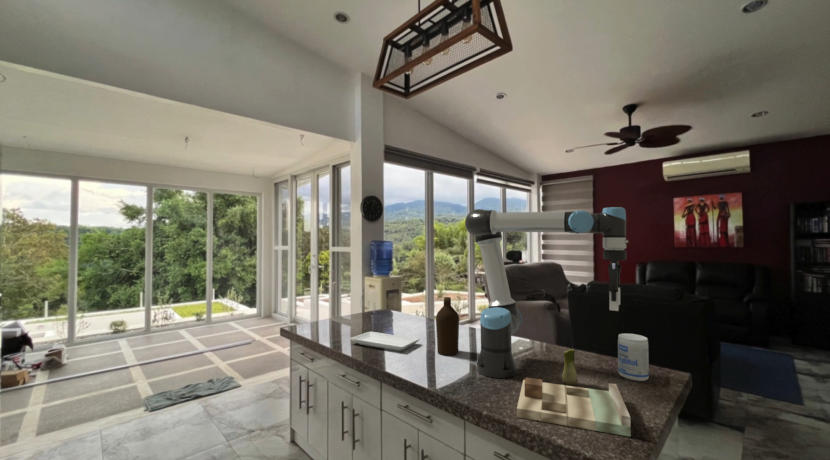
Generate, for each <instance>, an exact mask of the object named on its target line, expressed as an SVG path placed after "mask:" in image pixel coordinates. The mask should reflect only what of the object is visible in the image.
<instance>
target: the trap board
mask: <svg viewBox="0 0 830 460" xmlns="http://www.w3.org/2000/svg"><path fill="white" fill-rule="evenodd" d="M524 383H525V379H523V380H522V385H521V388H520V393H519V398H518V401H517V406H516V417H517V418H521V419H526V420H531V421H537V420H538V421H539V422H543V423H549V424H554V425H555V424H556V425H561V426H566V427H572V428H579V429H584V430H589V431H596V432H600V433H607V434H613V435H619V436H624V437H631V436H632V432H631V427H632V426H631V415H630V413H629V411H628V408H627V406H626V403H625V401H624V400H623V397H622V394H621V392H620V390H619V388H618V385H617V383H609V382H608V390H602V389H595V388H588V387H587V388H586V387H581V386H575V385H573V386H568V385H566V384H557V383H551V382H543V381H542V387H543V394H542V399H537V398H530V397H525V385H524Z"/></svg>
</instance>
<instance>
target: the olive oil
mask: <svg viewBox="0 0 830 460" xmlns="http://www.w3.org/2000/svg"><path fill="white" fill-rule="evenodd" d="M451 299H452V298H451V296H444V297H443V306H442V307H441V308H440V309H439V310H438V312H436V316H435V326H436V343H437V344H436V345H437V354H438V355H441V356H446V357H450V356H452V357H453V356H456V355H458V354H459V340H460V339H459V334H460V316H459V314H458V311H456V310H455V308H454V307H453V306H452V300H451Z"/></svg>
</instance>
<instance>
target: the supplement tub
mask: <svg viewBox="0 0 830 460" xmlns="http://www.w3.org/2000/svg"><path fill="white" fill-rule="evenodd" d="M617 338H618V339H617V363H618V364H617V369H618V374H619V375H620V376H621V377H622V378H624V379H627V380H631V381H638V382H645V381H647V380H648V379H649V377H650V368H649V366H650V365H649V364H650V363H649V362H650V361H649V339H648V337H646V336H644V335H641V334H635V333H619V334H618V337H617Z"/></svg>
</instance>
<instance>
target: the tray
mask: <svg viewBox="0 0 830 460" xmlns="http://www.w3.org/2000/svg"><path fill="white" fill-rule="evenodd" d="M349 339H350V340H351V341H352V342H354V343H356V344H358V345H361V346H362V345H363V346H366V347H373V348H377V349H378V348H379V349H385V350H390V351H396V352H403V351H404V350H406V349H408V348H410V347H412V346H413V345H416V343H418V342H419V341H420V340H421V339H420V338H418V337H417V338H416V337H409V336H402V335H396V334H388V333H382V332H377V331H367V332H364V333H361V334H358V335H354V336H352V337H349Z"/></svg>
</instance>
